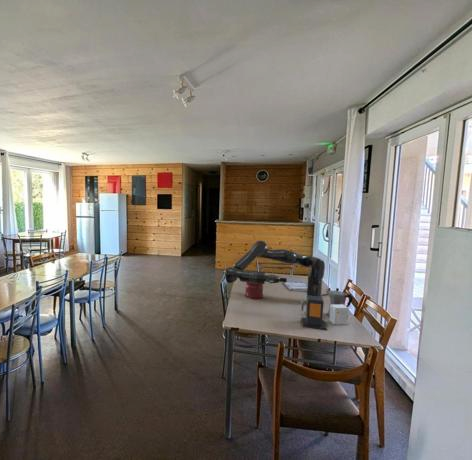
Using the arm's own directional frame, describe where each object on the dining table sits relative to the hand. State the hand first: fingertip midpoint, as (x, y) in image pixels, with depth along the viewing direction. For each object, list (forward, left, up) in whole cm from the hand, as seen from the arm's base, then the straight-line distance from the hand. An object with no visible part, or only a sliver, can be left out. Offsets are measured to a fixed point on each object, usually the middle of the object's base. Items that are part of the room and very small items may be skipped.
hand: (286, 280), depth 175 cm
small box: (-8, +30, -25) cm, 40 cm away
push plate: (0, +9, -16) cm, 19 cm away
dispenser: (0, +16, -25) cm, 29 cm away
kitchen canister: (-39, -22, -25) cm, 51 cm away
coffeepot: (-19, +31, -25) cm, 44 cm away
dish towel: (-79, +9, -25) cm, 83 cm away
